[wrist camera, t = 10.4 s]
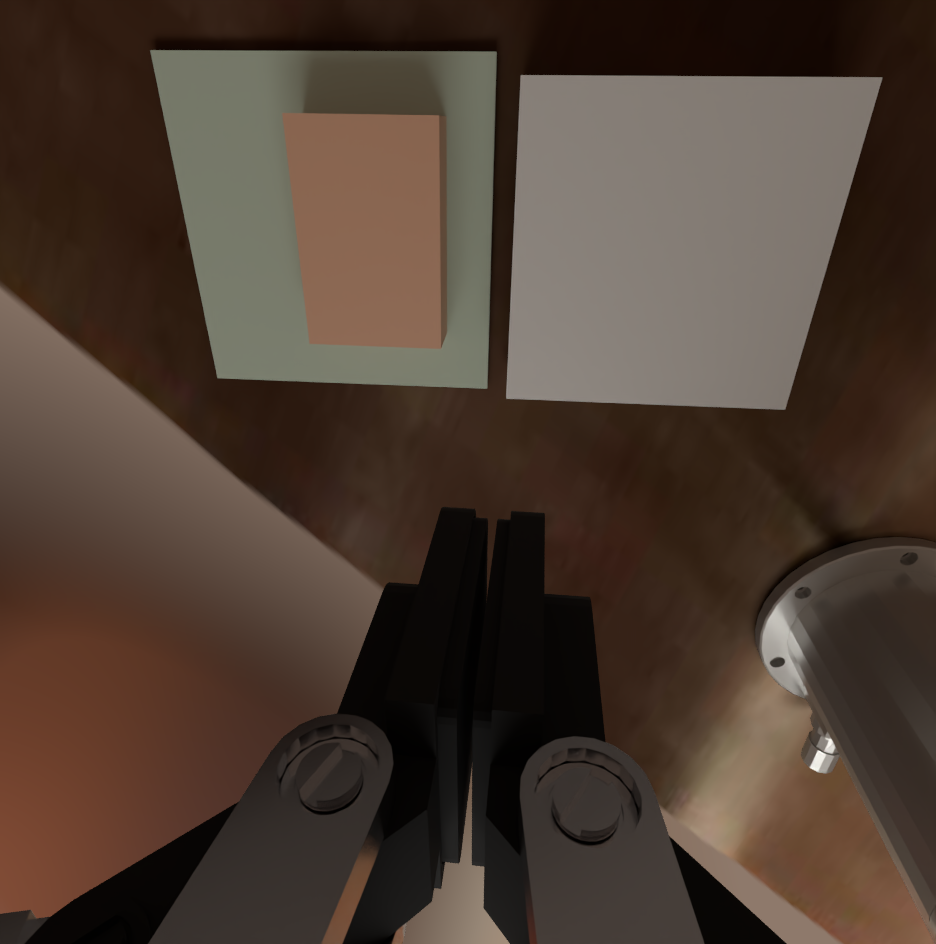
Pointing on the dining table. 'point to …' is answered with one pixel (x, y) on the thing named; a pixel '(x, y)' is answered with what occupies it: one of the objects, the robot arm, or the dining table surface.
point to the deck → (675, 233)
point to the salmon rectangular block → (371, 226)
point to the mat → (271, 206)
